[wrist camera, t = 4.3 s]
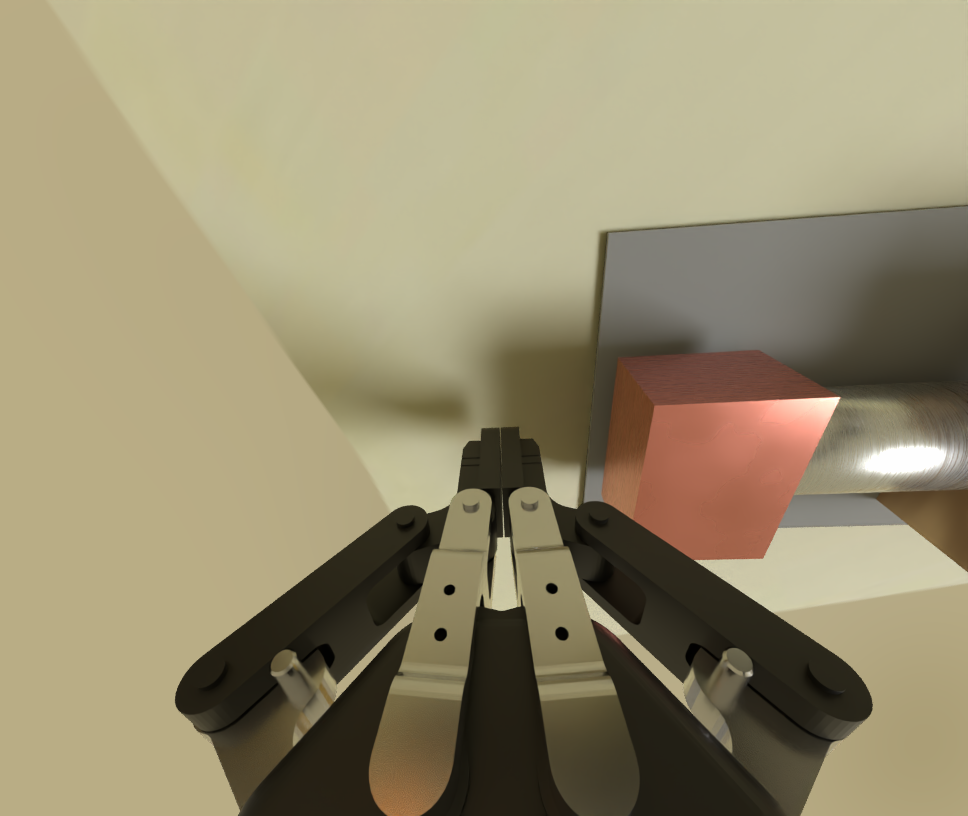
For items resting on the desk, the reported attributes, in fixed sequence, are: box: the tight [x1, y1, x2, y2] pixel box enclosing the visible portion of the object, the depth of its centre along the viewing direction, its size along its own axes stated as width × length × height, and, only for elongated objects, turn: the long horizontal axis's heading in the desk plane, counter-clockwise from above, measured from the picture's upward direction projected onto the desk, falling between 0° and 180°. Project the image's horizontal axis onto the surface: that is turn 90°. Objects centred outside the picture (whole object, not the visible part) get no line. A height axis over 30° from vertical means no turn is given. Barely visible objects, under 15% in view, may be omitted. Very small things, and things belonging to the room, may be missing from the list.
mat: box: [583, 206, 968, 528], centre depth 16 cm, size 15×22×1 cm
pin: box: [601, 350, 968, 560], centre depth 14 cm, size 15×7×5 cm, turn 94°
